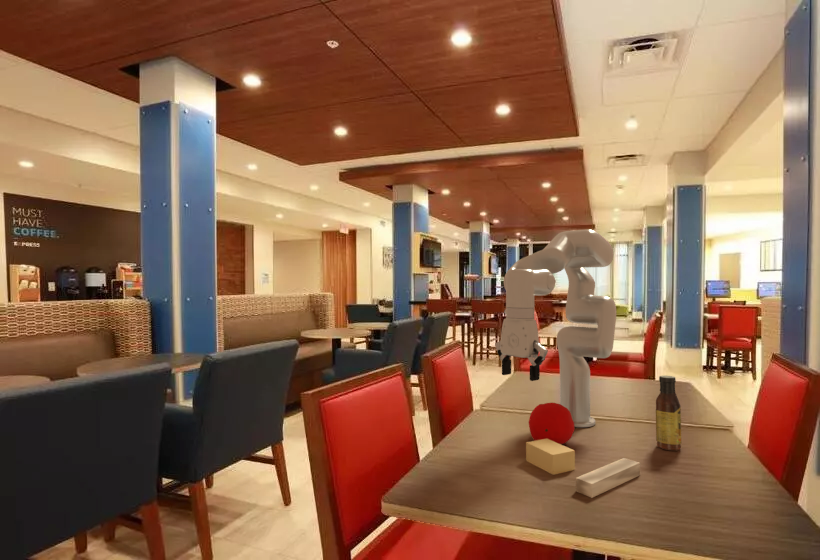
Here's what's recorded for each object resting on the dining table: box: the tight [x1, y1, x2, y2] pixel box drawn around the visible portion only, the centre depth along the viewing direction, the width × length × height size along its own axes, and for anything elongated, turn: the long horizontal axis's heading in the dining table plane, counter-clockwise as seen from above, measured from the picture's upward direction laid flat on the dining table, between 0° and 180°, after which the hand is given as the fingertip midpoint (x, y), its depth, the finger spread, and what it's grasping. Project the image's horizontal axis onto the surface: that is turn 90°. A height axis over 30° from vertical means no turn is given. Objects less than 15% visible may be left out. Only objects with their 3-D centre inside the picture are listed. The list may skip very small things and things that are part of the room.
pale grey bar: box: [575, 457, 641, 499], centre depth 110 cm, size 4×20×3 cm, turn 126°
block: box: [525, 439, 576, 475], centre depth 121 cm, size 10×7×5 cm
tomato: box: [528, 402, 575, 445], centre depth 137 cm, size 13×13×13 cm
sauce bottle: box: [655, 375, 682, 452], centre depth 133 cm, size 7×6×20 cm
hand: (520, 377), depth 129 cm, fingers open, 9 cm apart
